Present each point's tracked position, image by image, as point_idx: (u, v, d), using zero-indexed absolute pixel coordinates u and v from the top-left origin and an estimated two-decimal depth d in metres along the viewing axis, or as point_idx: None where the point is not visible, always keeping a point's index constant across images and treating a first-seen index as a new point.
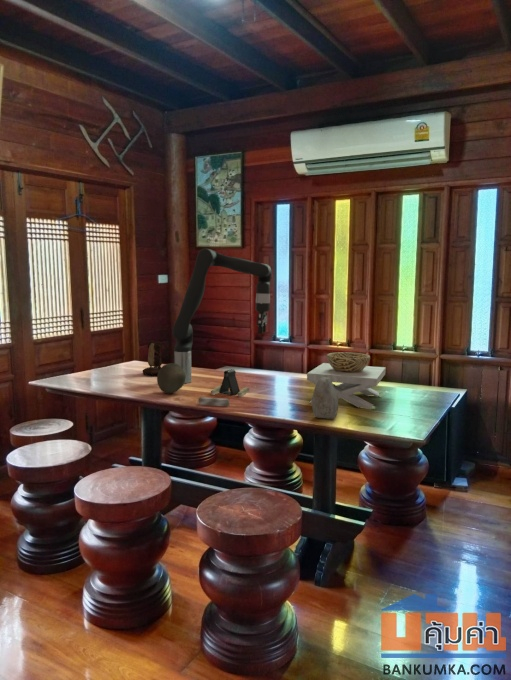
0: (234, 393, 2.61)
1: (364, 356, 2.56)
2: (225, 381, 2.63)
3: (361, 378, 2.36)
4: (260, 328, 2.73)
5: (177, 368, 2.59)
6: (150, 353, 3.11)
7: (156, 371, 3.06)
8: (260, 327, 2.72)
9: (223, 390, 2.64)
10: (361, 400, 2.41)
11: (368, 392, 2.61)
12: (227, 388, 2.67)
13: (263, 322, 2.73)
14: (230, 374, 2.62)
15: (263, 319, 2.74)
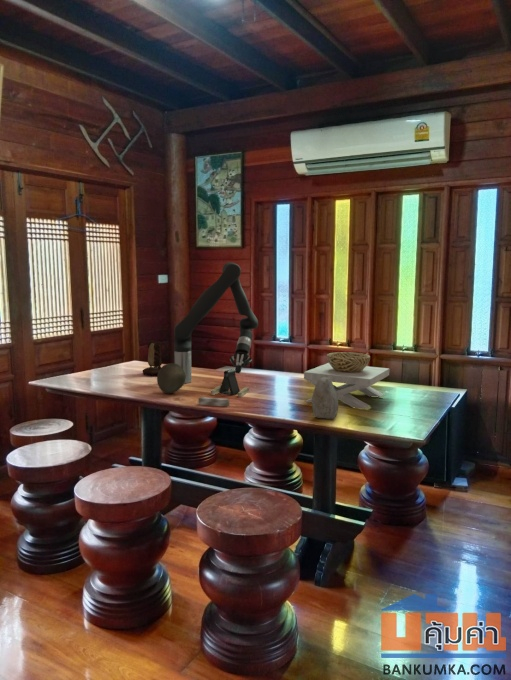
0: (234, 393, 2.61)
1: (365, 356, 2.55)
2: (225, 381, 2.63)
3: (355, 378, 2.36)
4: None
5: (177, 368, 2.59)
6: (150, 353, 3.11)
7: (156, 371, 3.06)
8: (241, 367, 2.79)
9: (223, 390, 2.64)
10: (356, 400, 2.40)
11: (370, 393, 2.60)
12: (227, 388, 2.67)
13: None
14: (230, 374, 2.62)
15: (243, 362, 2.82)
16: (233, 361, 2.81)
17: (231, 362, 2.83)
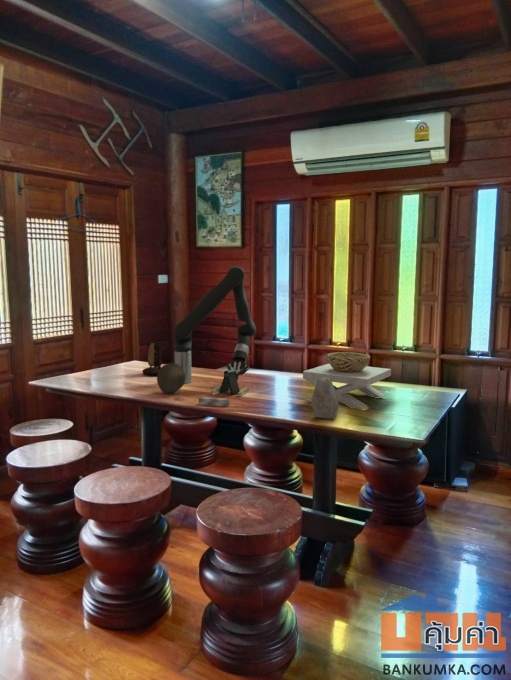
0: (234, 393, 2.61)
1: (366, 357, 2.54)
2: (225, 381, 2.63)
3: (352, 378, 2.36)
4: (238, 376, 2.74)
5: (177, 368, 2.59)
6: (150, 353, 3.11)
7: (156, 371, 3.06)
8: (238, 375, 2.74)
9: (223, 390, 2.64)
10: (354, 400, 2.40)
11: (371, 393, 2.59)
12: (227, 388, 2.67)
13: None
14: (230, 374, 2.62)
15: (240, 370, 2.78)
16: (230, 369, 2.76)
17: None
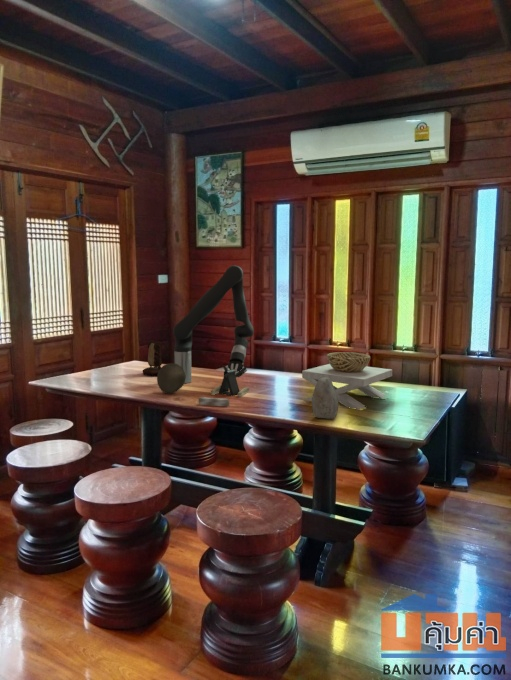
0: (234, 393, 2.60)
1: (366, 357, 2.54)
2: (225, 381, 2.62)
3: (350, 378, 2.36)
4: None
5: (177, 368, 2.59)
6: (150, 353, 3.11)
7: (156, 371, 3.06)
8: None
9: (223, 390, 2.64)
10: (352, 400, 2.40)
11: (372, 394, 2.58)
12: (227, 388, 2.66)
13: None
14: (230, 374, 2.61)
15: None
16: None
17: None
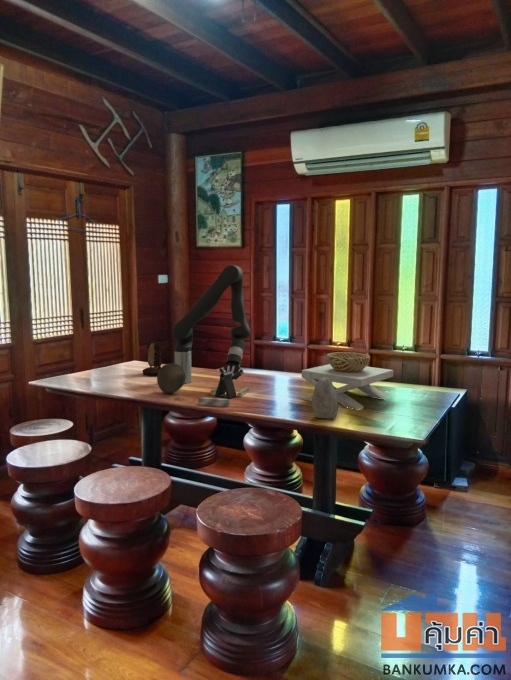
0: (230, 396, 2.53)
1: (366, 357, 2.53)
2: (221, 384, 2.56)
3: (347, 378, 2.36)
4: None
5: (177, 368, 2.59)
6: (150, 353, 3.11)
7: (156, 371, 3.06)
8: None
9: (219, 393, 2.57)
10: (350, 400, 2.40)
11: (373, 394, 2.57)
12: (223, 391, 2.60)
13: None
14: (226, 377, 2.54)
15: (234, 374, 2.65)
16: None
17: None
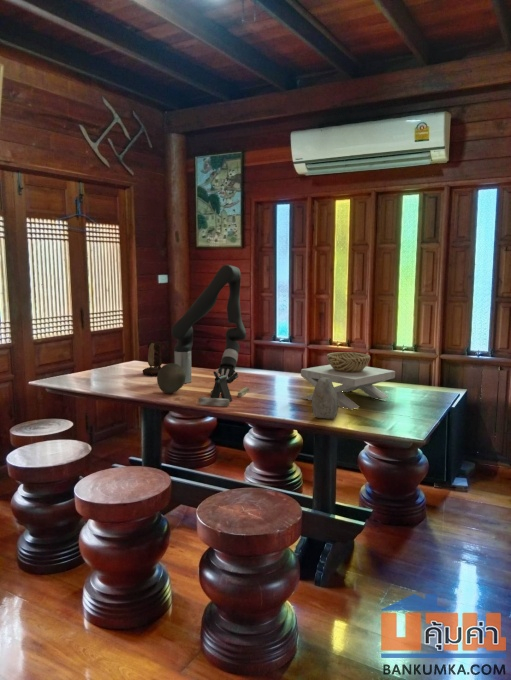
0: None
1: None
2: (216, 388, 2.47)
3: (342, 378, 2.37)
4: None
5: (177, 368, 2.59)
6: (150, 353, 3.11)
7: (156, 371, 3.06)
8: None
9: (214, 397, 2.48)
10: (346, 400, 2.41)
11: (374, 395, 2.56)
12: (218, 395, 2.51)
13: None
14: (221, 380, 2.46)
15: (229, 377, 2.57)
16: (217, 376, 2.55)
17: None
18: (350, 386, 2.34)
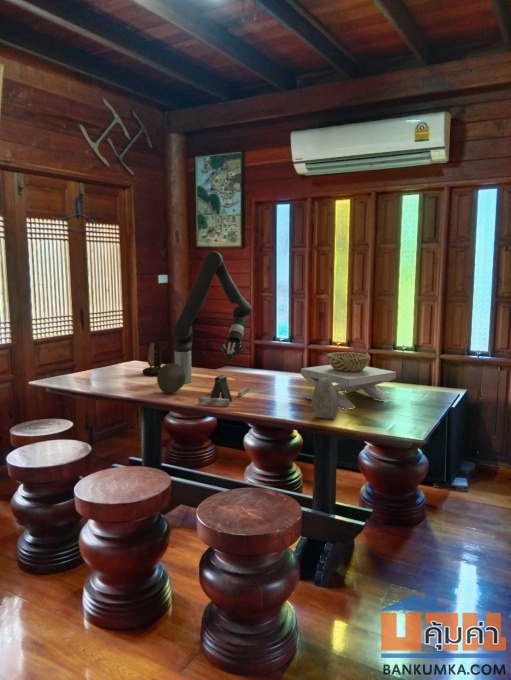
0: None
1: None
2: (216, 388, 2.47)
3: (338, 377, 2.37)
4: (232, 357, 2.67)
5: (177, 368, 2.59)
6: (150, 353, 3.11)
7: (156, 371, 3.06)
8: (232, 356, 2.67)
9: (214, 397, 2.48)
10: (342, 400, 2.41)
11: (374, 395, 2.54)
12: (218, 395, 2.51)
13: None
14: (222, 380, 2.46)
15: (235, 351, 2.71)
16: (224, 349, 2.69)
17: (222, 350, 2.72)
18: (345, 386, 2.34)
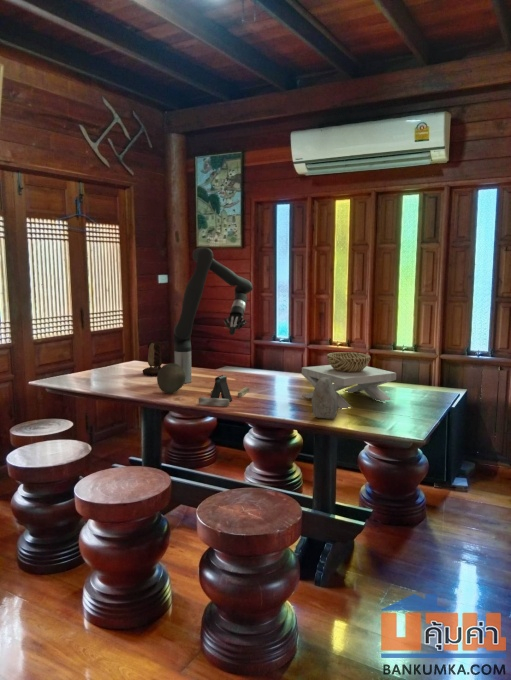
0: None
1: None
2: (216, 388, 2.47)
3: (334, 377, 2.38)
4: (235, 330, 2.83)
5: (177, 368, 2.59)
6: (150, 353, 3.11)
7: (156, 371, 3.06)
8: (235, 329, 2.84)
9: (214, 397, 2.48)
10: (339, 399, 2.42)
11: (374, 396, 2.53)
12: (218, 395, 2.51)
13: None
14: (222, 380, 2.46)
15: (238, 324, 2.87)
16: (227, 323, 2.85)
17: None
18: (340, 385, 2.35)
